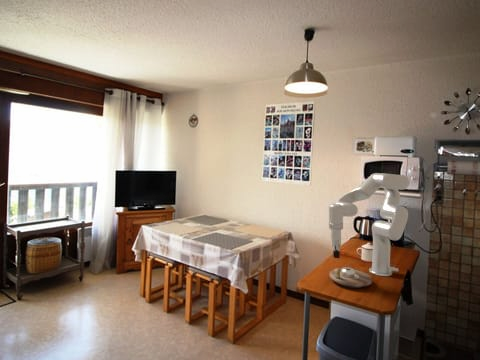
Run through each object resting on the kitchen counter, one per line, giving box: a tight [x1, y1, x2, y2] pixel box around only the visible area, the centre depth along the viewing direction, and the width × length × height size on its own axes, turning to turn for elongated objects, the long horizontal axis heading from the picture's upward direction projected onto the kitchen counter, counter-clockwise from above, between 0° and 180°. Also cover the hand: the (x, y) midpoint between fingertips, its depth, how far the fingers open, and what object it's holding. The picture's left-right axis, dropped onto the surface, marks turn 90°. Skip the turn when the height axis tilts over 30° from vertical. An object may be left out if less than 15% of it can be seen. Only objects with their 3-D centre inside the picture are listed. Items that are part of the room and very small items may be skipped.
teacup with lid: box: [356, 242, 373, 263], centre depth 201 cm, size 12×9×12 cm
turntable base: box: [335, 282, 365, 289], centre depth 162 cm, size 16×16×2 cm
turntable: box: [329, 267, 373, 288], centre depth 162 cm, size 22×22×6 cm
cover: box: [341, 267, 356, 278], centre depth 162 cm, size 7×7×4 cm
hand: (336, 257), depth 166 cm, fingers closed
